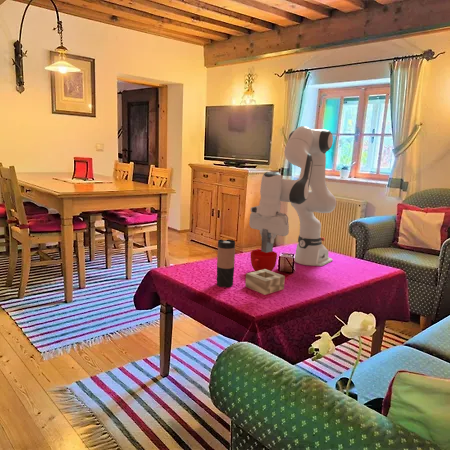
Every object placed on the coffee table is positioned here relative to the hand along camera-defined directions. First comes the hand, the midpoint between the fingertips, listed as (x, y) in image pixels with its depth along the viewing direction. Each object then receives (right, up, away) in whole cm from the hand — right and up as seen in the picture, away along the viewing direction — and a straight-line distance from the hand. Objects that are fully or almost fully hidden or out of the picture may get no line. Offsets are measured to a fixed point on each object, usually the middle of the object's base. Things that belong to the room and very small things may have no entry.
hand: (267, 242), depth 173 cm
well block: (-1, -20, +4) cm, 21 cm away
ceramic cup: (-1, -17, +24) cm, 29 cm away
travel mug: (-18, -20, +6) cm, 28 cm away
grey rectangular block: (0, -4, +1) cm, 4 cm away
